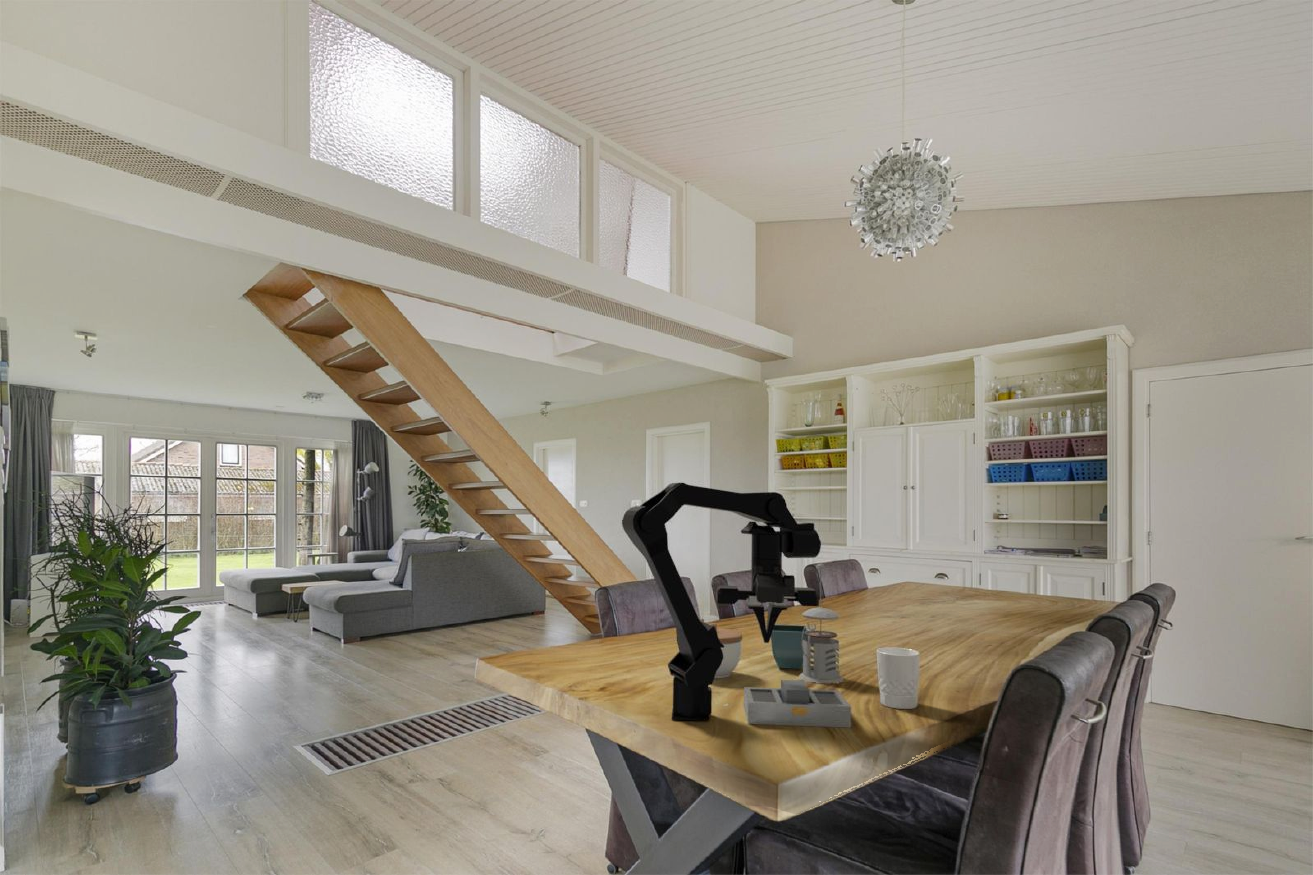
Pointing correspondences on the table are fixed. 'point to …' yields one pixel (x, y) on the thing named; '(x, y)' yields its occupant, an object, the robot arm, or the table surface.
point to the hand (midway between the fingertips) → (766, 642)
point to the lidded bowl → (728, 650)
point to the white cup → (898, 677)
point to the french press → (820, 647)
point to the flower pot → (788, 645)
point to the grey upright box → (794, 691)
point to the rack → (796, 708)
